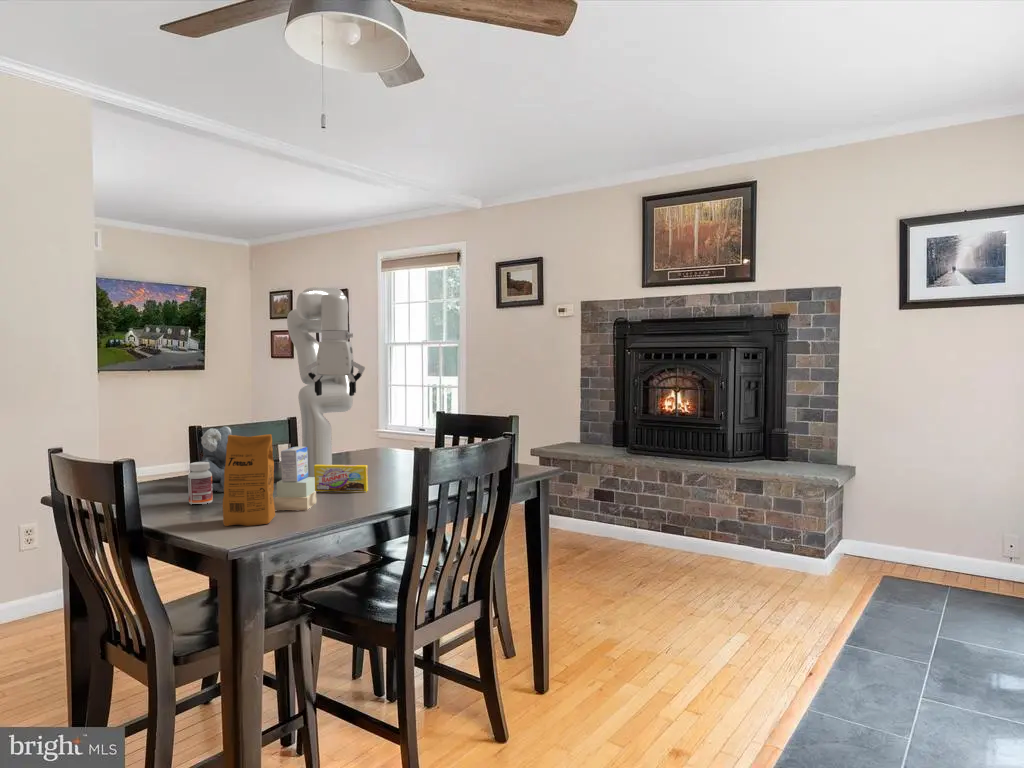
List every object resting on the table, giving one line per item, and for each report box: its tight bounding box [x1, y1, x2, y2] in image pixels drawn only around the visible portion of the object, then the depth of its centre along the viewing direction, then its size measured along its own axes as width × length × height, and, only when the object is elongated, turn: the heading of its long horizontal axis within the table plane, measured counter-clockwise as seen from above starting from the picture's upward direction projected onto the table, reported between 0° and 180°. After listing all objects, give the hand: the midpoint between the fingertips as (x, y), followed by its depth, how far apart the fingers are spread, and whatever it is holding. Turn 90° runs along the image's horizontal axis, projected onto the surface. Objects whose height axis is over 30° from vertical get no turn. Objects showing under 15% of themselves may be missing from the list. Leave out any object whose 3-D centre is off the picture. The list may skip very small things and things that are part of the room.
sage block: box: [275, 477, 315, 497], centre depth 188 cm, size 8×8×4 cm
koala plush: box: [200, 425, 233, 493], centre depth 216 cm, size 17×18×20 cm
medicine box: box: [280, 446, 308, 482], centre depth 188 cm, size 8×4×9 cm, turn 175°
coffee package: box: [222, 433, 276, 527], centre depth 172 cm, size 10×12×22 cm
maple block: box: [273, 491, 317, 511], centre depth 188 cm, size 9×9×4 cm
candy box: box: [314, 464, 369, 493], centre depth 209 cm, size 16×2×8 cm, turn 86°
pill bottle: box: [187, 461, 214, 505], centre depth 194 cm, size 6×6×11 cm
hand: (335, 395), depth 201 cm, fingers open, 9 cm apart
